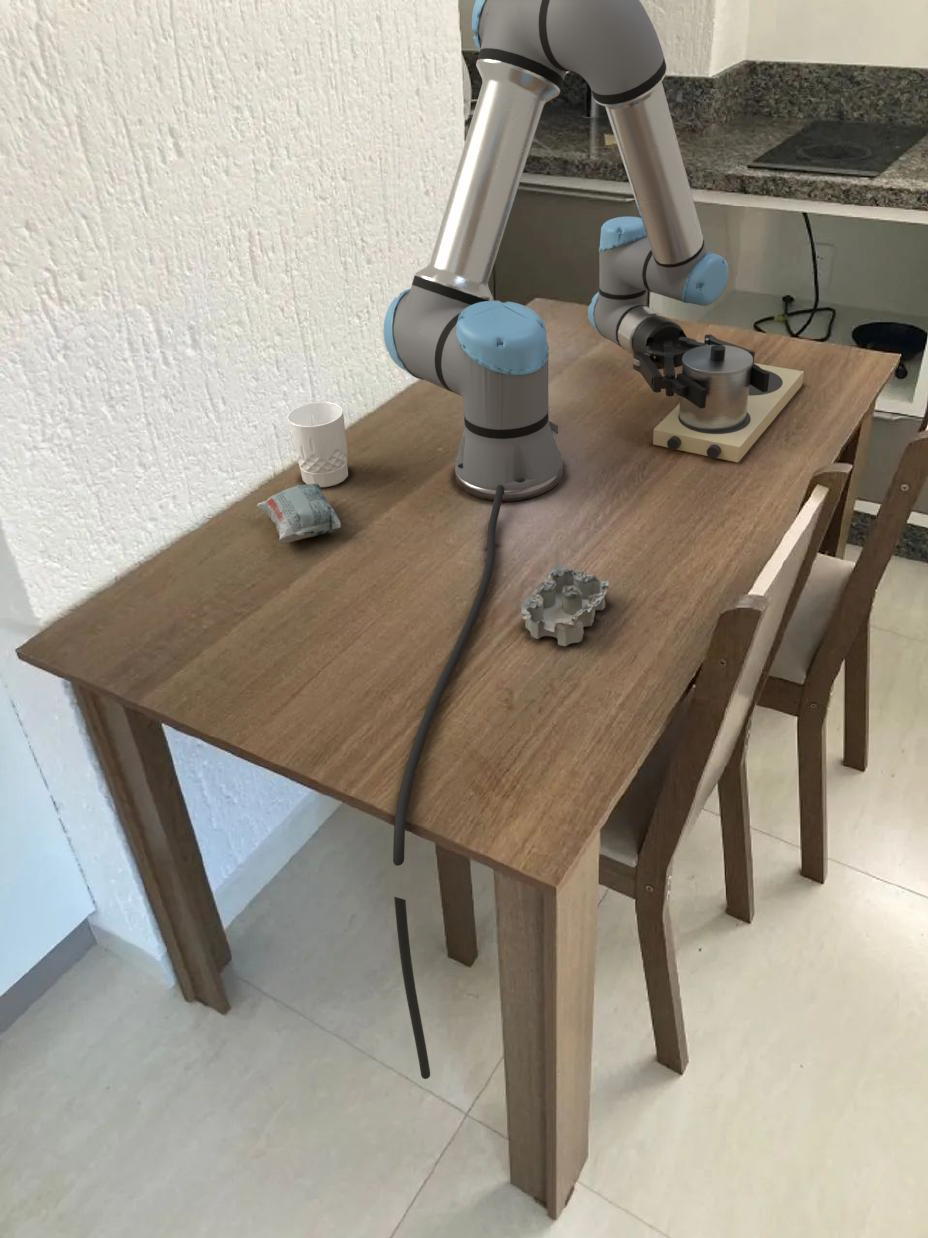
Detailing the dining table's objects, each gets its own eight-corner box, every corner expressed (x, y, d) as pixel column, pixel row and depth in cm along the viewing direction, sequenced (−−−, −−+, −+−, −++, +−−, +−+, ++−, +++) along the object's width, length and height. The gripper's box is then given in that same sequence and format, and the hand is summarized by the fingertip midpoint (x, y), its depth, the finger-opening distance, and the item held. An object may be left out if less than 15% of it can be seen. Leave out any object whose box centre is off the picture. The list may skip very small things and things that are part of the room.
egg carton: (573, 652, 112) (573, 623, 110) (514, 634, 115) (513, 605, 113) (615, 601, 119) (616, 572, 117) (558, 584, 122) (557, 556, 120)
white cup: (363, 470, 149) (354, 407, 143) (330, 494, 144) (319, 430, 138) (321, 459, 153) (311, 397, 147) (287, 482, 147) (275, 419, 141)
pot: (728, 437, 144) (735, 366, 138) (666, 422, 149) (670, 353, 143) (757, 410, 150) (765, 341, 144) (697, 396, 155) (702, 329, 149)
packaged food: (281, 557, 131) (275, 525, 128) (259, 516, 140) (252, 485, 137) (345, 540, 134) (341, 508, 131) (319, 500, 143) (314, 469, 140)
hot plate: (735, 465, 142) (737, 449, 141) (649, 447, 148) (650, 431, 147) (801, 385, 161) (803, 370, 160) (723, 372, 167) (724, 357, 166)
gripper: (711, 346, 164) (798, 398, 148) (589, 376, 158) (665, 433, 142) (715, 301, 160) (805, 348, 143) (589, 329, 154) (667, 383, 137)
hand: (735, 390), depth 142 cm, fingers closed on pot, 10 cm apart
